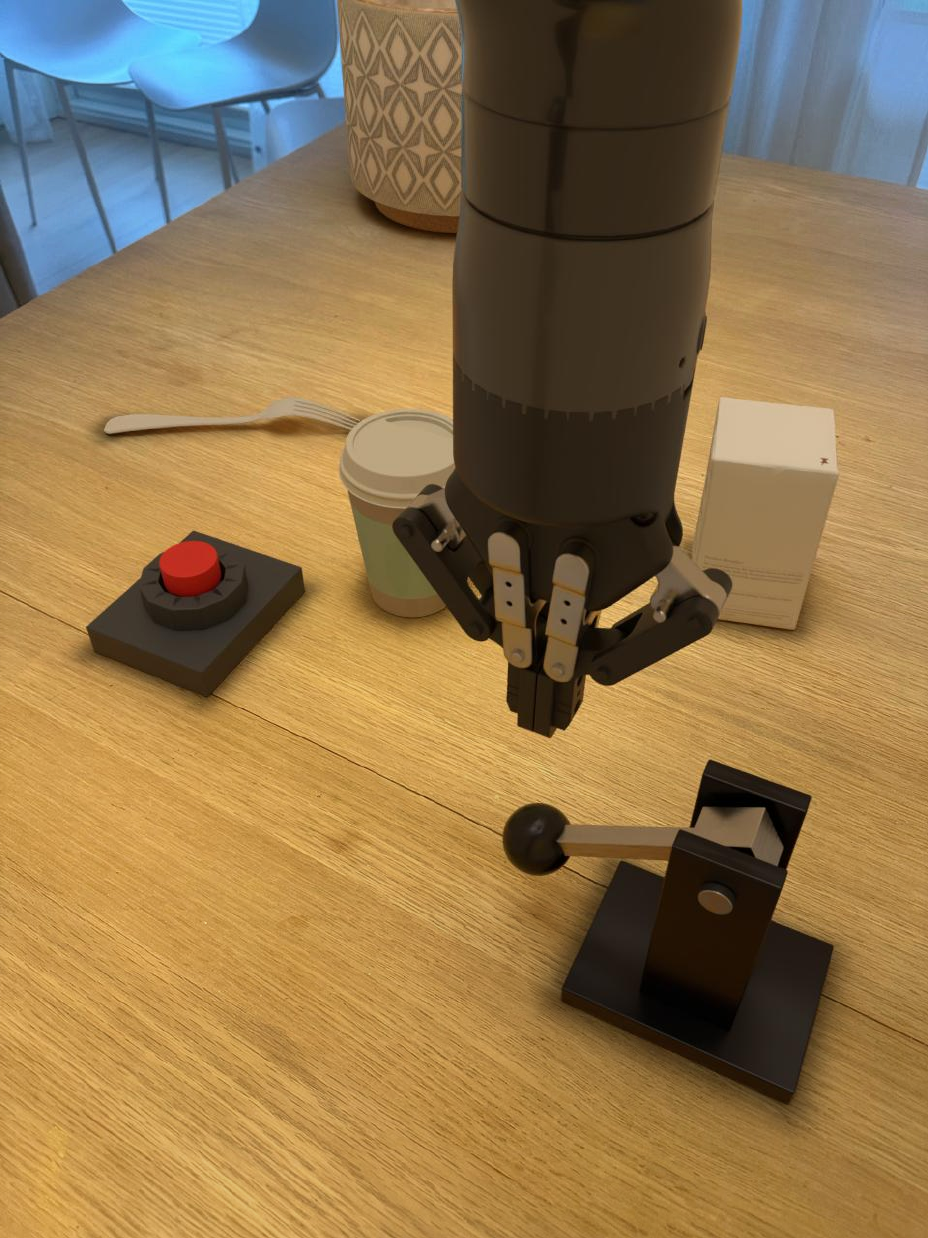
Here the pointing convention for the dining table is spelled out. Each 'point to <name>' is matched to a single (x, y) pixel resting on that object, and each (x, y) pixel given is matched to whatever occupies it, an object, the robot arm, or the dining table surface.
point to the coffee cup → (395, 498)
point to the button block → (198, 618)
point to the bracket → (709, 948)
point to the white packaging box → (766, 505)
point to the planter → (404, 107)
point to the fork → (272, 411)
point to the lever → (628, 837)
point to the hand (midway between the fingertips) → (543, 719)
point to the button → (190, 569)
